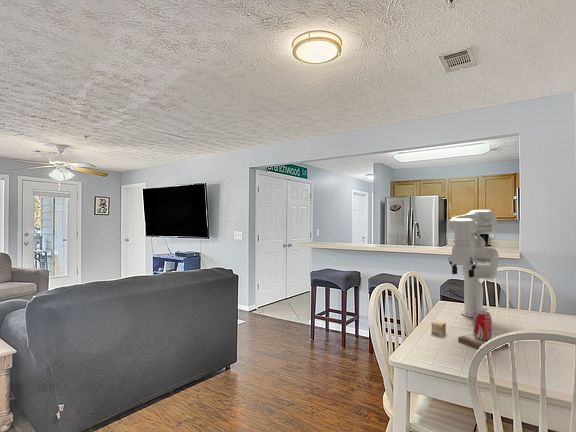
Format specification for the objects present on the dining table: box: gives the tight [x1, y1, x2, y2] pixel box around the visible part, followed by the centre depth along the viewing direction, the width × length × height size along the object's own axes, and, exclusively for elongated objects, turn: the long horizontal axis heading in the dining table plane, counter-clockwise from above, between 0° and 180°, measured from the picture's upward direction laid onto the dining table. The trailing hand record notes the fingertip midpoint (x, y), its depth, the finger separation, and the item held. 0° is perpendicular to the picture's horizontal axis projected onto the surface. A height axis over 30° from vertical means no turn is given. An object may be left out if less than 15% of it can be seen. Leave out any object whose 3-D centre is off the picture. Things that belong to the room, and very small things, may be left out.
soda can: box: [473, 311, 493, 341], centre depth 153 cm, size 7×7×12 cm
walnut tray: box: [457, 333, 509, 351], centre depth 153 cm, size 14×14×2 cm
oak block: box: [431, 320, 447, 336], centre depth 168 cm, size 5×5×5 cm
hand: (462, 275), depth 178 cm, fingers open, 9 cm apart
